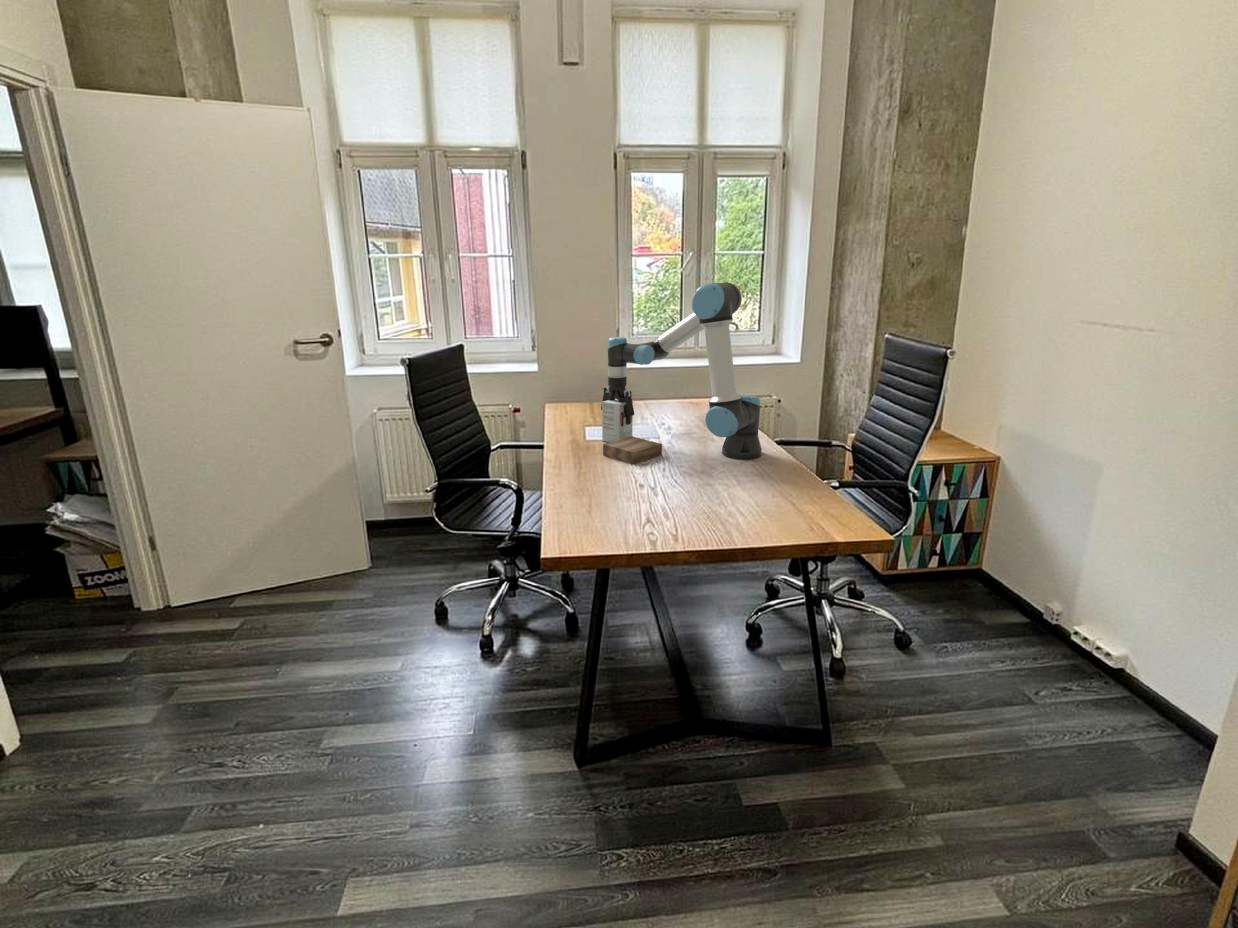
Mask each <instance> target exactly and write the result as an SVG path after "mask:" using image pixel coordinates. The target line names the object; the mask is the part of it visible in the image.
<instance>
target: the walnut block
mask: <svg viewBox="0 0 1238 928" xmlns="http://www.w3.org/2000/svg"><path fill="white" fill-rule="evenodd" d="M602 456H603V457H606V458H610V459H614V460H617V461H621V462H624V463H628V464H630V465H635V464H639V463H642V462H645V461H648V460H651V459H654V458H658V457H662V456H663V444H662V443H660V442H656V441H651V440H648V439H645V438H640V437H636V436H633V435H632V436H631V437H627V438H624V439H620V440H616V441H613V442H607V443H603V444H602Z"/></svg>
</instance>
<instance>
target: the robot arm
mask: <svg viewBox="0 0 1238 928" xmlns="http://www.w3.org/2000/svg"><path fill="white" fill-rule="evenodd" d="M742 301H743V299H742V293H741V291H740V289H739V287H737V286H736V285H735V284H734V283H731V282H712V283H711V282H709V283H707V284H703V285H701V286H699V287H698V288H696V290H695V292H693V295H692V298H691V309H692V313H691V314H689V315H688V316H687V317H685V318H683V319H682V320H681V321H679V322H678V323H676V324H675V325H674V326H672V327H671V328H670V329H668V330H667V331H665V332H664V333H662V334H661V335H659V336H658V337H657V338H655V339H654V340H652V341H648V342H645V343H628V339H627V338H626V337H624V336H623V337H622V336H612V337H609V338H608V341H607V363H608V364H607V375H608V376H607V385H608V387H607V386H606V387H603V396H602V401H601V403H602V402H603V401H607V400H610V401H611V400H615V399H618V401H619V402H621V403H625V402H626V405H624V415H625V416H624V417H623V432H624V433H626V432H629V424H630V417H631V416H635V410H634V405H633V403H634V402H633V403H632V401H633V398H632V394H633V392H632V391H631V390H630V391H629V390H627V389H626V386H627V371H628V370H627V365H628V364H629V363H630V364H637V365H641V366H643V365H646V366H647V365H650V364H652V362H653V361H658V360H659V361H660V360H663V359H665V358H667V357H668V356H669V354H670V353H671V352H672V351H673V350H675V349H677V348H678V347H680V346H681V345H682V344H684V343H685V342H687V341H689V340H690V339H692V338H693V337H695V336H696V335H698V334H699V333H701V332H702V331H704V334H705V335H704V337H705V345H706V350H707V351H706V352H707V361H708V370H709V378H710V389H711V397H710V399H709V400H708V406H709V409H708V411H707V413H706V414H705V419H704V420H705V421H704V422H705V425H706V428H707V429H708V431H709V432H710V433H711V434H713V435H714V436H716V437H717V438H725V439H724V442H723V445H722V448H721V454H722V455H723V456H725V457H727V458H729V459H730V458H731V459H736V460H752V459H753V460H754V459H757V458H760V457H761V456H762V452H763V450H762V445H761V441H760V437H759V427H760V415H761V407H762V405H761V398H760V397H758V396H756V395H749V394H740V393H739V394H738V392H737V389H736V387H737V386H736V380H735V378H736V377H735V371H734V370H735V369H734V368H735V367H734V361H733V351H732V342H731V333H730V325H731V323H732V322H733V321H734V319H733V315H734V314H735V313H736V312H738V310H739V308H740V307H741V304H742ZM600 410H601V411H602V404H601V406H600ZM627 413H628V414H627Z"/></svg>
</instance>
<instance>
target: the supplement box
mask: <svg viewBox="0 0 1238 928" xmlns="http://www.w3.org/2000/svg"><path fill="white" fill-rule="evenodd" d="M632 403H634V401H633V400H632ZM601 405H602V410H601V411H602V412H601V414H602V415H601V417H602V420H601V423H602V424H601V429H602V431H601V432H602V433H601V434H602V436H601V437H602V438H601V441H602V442H607V443H609V442H613V441H616V440H620V439H624V438H627V437H631V436H633V416H634V415H633V416H631V417H630V424H629V432H626V433H624V432H623V417H624V416H625V415H624V405H626V402H625V403H621V402H619V401H618V399H615V400H611V401H610V400H607V401H603V402H602V401H601ZM627 414H628V413H627Z"/></svg>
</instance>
